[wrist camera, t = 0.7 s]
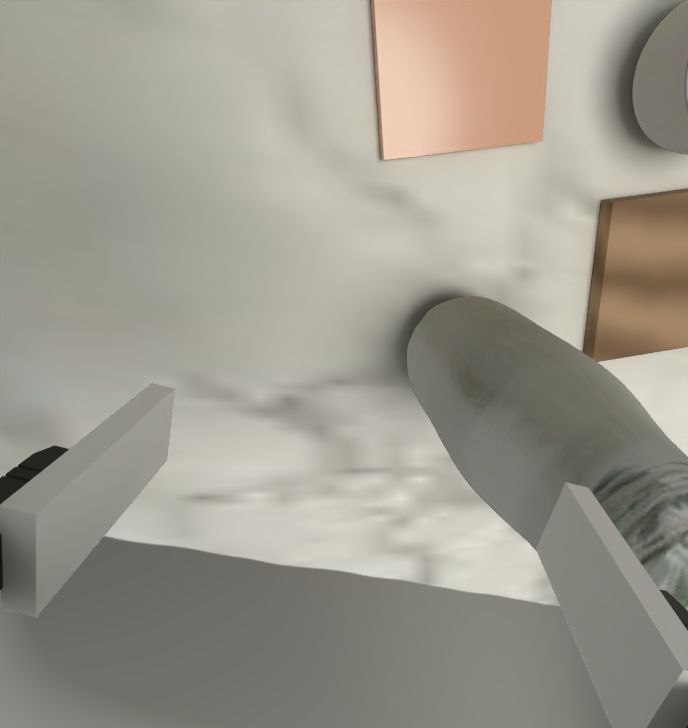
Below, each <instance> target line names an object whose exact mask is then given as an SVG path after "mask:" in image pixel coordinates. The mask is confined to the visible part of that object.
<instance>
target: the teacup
mask: <svg viewBox="0 0 688 728" xmlns="http://www.w3.org/2000/svg"><path fill="white" fill-rule="evenodd" d="M632 98H633V107H634V111H635V116H636V118H637V121H638V123H639V125H640V127H641V129H642V130H643V132H644V133H645V134H646V135H647V136H648V138H649V139H651V140H652V141H653V142H654V143H655V144H657V145H659V146H660V147H662V148H664V149H666V150H669V151H672V152H676V153H680V154H688V0H685V1H683V2H682V3H680V4H679V5H678V6H677V7H676V8H674V9H673V10H672V11H671V12H670V13H669V14H668V15H667V16H666V17H665V18H664V19H663V20H662V21H661V22H660V24H659V25H658V26H657V27H656V29H655V30H654V32H653V33H652V35H651V36H650V38H649V39H648V41H647V43H646V45H645V46H644V48H643V50H642V52H641V55H640V58H639V60H638V63H637V66H636V70H635V75H634V80H633V96H632Z"/></svg>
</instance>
